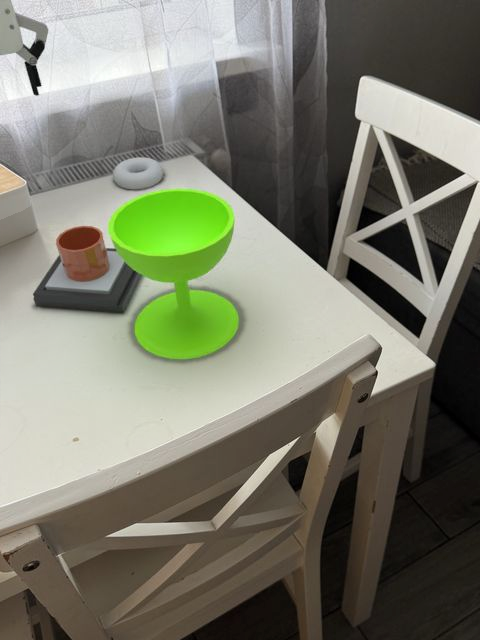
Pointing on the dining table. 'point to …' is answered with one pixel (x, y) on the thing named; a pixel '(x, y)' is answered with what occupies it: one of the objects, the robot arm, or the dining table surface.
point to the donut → (138, 173)
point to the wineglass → (178, 268)
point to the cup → (83, 253)
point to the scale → (89, 300)
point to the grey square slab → (96, 286)
